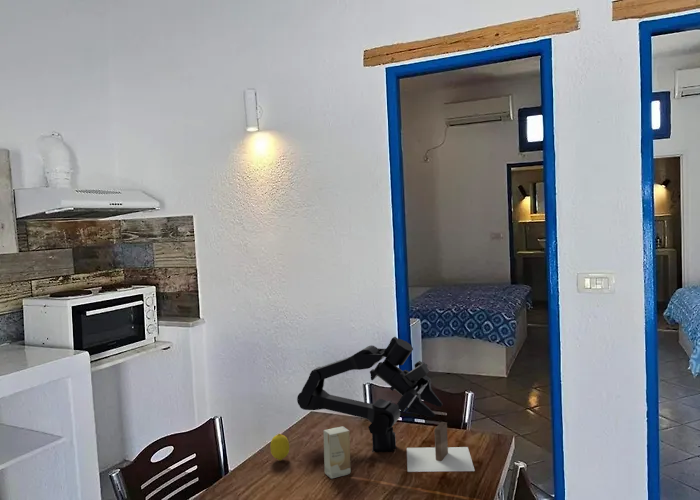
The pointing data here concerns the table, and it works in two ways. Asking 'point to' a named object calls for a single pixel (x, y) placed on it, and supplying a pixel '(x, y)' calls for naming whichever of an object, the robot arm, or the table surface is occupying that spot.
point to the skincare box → (337, 452)
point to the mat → (427, 461)
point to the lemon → (279, 446)
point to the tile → (441, 441)
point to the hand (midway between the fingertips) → (438, 410)
